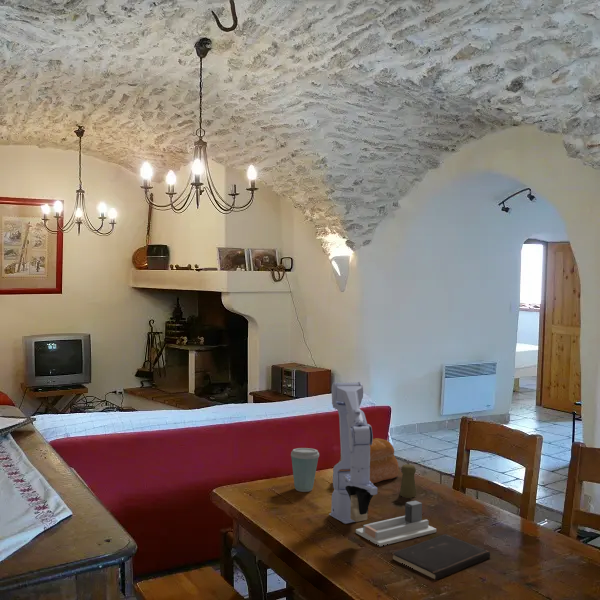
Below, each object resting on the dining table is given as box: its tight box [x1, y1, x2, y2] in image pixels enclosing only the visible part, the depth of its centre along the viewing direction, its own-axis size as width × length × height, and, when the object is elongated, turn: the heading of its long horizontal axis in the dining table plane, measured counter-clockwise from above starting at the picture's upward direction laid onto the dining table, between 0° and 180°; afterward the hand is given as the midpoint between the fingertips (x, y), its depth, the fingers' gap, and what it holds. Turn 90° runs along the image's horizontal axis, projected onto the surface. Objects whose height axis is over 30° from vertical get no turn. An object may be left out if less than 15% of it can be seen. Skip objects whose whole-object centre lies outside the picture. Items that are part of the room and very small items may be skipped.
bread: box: [338, 437, 400, 485], centre depth 256 cm, size 14×26×15 cm, turn 130°
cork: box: [399, 463, 417, 499], centre depth 238 cm, size 6×6×11 cm
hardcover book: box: [391, 533, 491, 581], centre depth 185 cm, size 16×23×2 cm
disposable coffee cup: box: [290, 447, 320, 493], centre depth 243 cm, size 11×11×15 cm
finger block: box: [350, 494, 369, 523], centre depth 196 cm, size 3×4×7 cm, turn 121°
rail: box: [355, 500, 437, 547], centre depth 203 cm, size 12×22×8 cm, turn 121°
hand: (359, 511), depth 196 cm, fingers closed on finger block, 3 cm apart
